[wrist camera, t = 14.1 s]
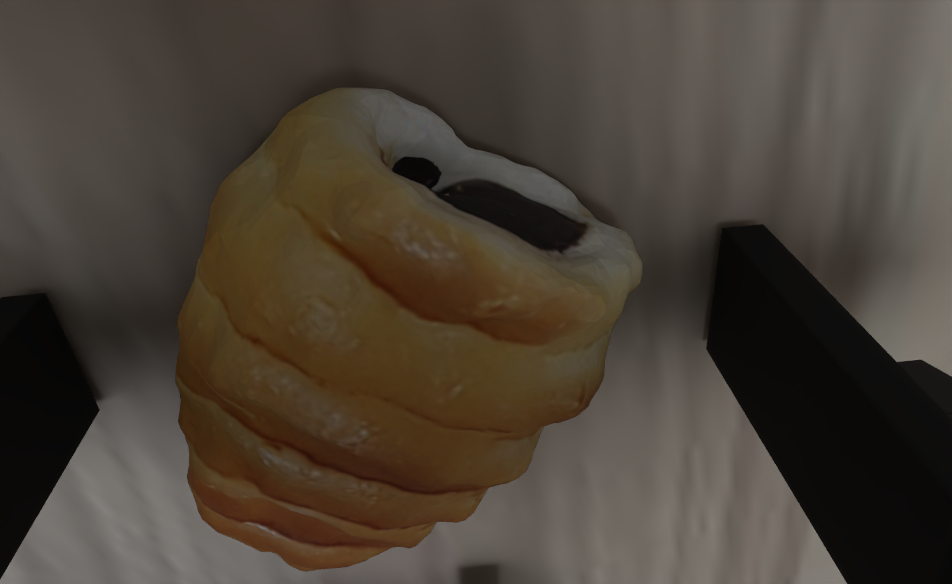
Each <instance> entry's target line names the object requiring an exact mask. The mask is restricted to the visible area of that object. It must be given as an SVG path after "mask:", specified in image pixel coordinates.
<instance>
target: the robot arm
mask: <svg viewBox="0 0 952 584" xmlns="http://www.w3.org/2000/svg"><path fill="white" fill-rule="evenodd" d="M706 349H707V351H708V353H709V354H710V356H711V358H712V359H713V361H714V363H715V364H716V366H717V368H718V369H719V371H720V373H721V374H722V376H723V378H724V379H725V381H726V383H727V384H728V386H729V388H730V389H731V391H732V393H733V394H734V396H735V398H736V399H737V401H738V403H739V404H740V406H741V408H742V409H743V411H744V413H745V414H746V416H747V418H748V419H749V421H750V423H751V424H752V426H753V428H754V429H755V431H756V433H757V434H758V436H759V438H760V439H761V441H762V443H763V444H764V446H765V448H766V449H767V451H768V452H769V454H770V456H771V457H772V459H773V461H774V462H775V464H776V466H777V467H778V469H779V471H780V472H781V474H782V476H783V477H784V479H785V481H786V482H787V484H788V486H789V487H790V489H791V491H792V492H793V494H794V496H795V497H796V499H797V501H798V502H799V504H800V506H801V507H802V509H803V511H804V512H805V514H806V516H807V517H808V519H809V521H810V522H811V524H812V526H813V527H814V529H815V531H816V532H817V534H818V536H819V537H820V539H821V541H822V542H823V544H824V546H825V547H826V549H827V551H828V552H829V554H830V556H831V557H832V559H833V561H834V562H835V564H836V566H837V567H838V569H839V571H840V572H841V574H842V576H843V577H844V579H845V581H846V582H847V584H952V377H951V376H949V375H948V374H946V373H944V372H942V371H940V370H939V369H937V368H935V367H933V366H932V365H930V364H928V363H926V362H924V361H923V360H913V361H904V362H896V361H895V360H894V359H893V358H892V357H891V356H890V355H889V354H888V353H887V352H886V351H885V350H884V349H883V348H882V346H881V345H880V344H879V343H878V342H877V341H876V340H875V339H874V338H873V337H872V336H871V335H870V334H869V333H868V332H867V331H866V330H865V329H864V328H863V327H862V326H861V325H860V324H859V323H858V322H857V321H856V320H855V319H854V318H853V317H852V316H851V315H850V314H849V312H848V311H847V310H846V309H845V308H844V307H843V306H842V305H841V304H840V303H839V302H838V301H837V300H836V299H835V298H834V297H833V296H832V295H831V294H830V293H829V292H828V291H827V290H826V289H825V288H824V287H823V286H822V285H821V284H820V283H819V282H818V281H817V279H816V278H815V277H814V276H813V275H812V274H811V273H810V272H809V271H808V270H807V269H806V268H805V267H804V266H803V265H802V264H801V263H800V262H799V261H798V260H797V259H796V258H795V257H794V256H793V255H792V254H791V253H790V252H789V251H788V250H787V249H786V248H785V247H784V245H783V244H782V243H781V242H780V241H779V240H778V239H777V238H776V237H775V236H774V235H773V234H772V233H771V232H770V231H769V230H768V229H767V228H766V227H765V226H764V225H763V224H762V225H752V226H741V227H731V228H722V233H721V240H720V248H719V256H718V263H717V271H716V279H715V286H714V294H713V302H712V309H711V317H710V325H709V332H708V340H707V348H706ZM98 412H99V407H98V405H97V403H96V401H95V399H94V397H93V395H92V392H91V390H90V388H89V386H88V384H87V382H86V380H85V377H84V375H83V373H82V371H81V369H80V367H79V365H78V362H77V360H76V358H75V356H74V354H73V352H72V350H71V347H70V345H69V343H68V341H67V339H66V337H65V335H64V332H63V330H62V328H61V326H60V324H59V322H58V320H57V317H56V315H55V313H54V311H53V309H52V307H51V305H50V302H49V300H48V298H47V296H46V294H45V293H42V294H32V295H21V296H11V297H2V298H1V299H0V579H1V577H2V575H3V574H4V572H5V570H6V569H7V567H8V565H9V563H10V562H11V560H12V558H13V557H14V555H15V553H16V552H17V550H18V548H19V546H20V545H21V543H22V541H23V540H24V538H25V536H26V534H27V533H28V531H29V529H30V528H31V526H32V524H33V523H34V521H35V519H36V517H37V516H38V514H39V512H40V511H41V509H42V507H43V505H44V504H45V502H46V500H47V499H48V497H49V495H50V494H51V492H52V490H53V488H54V487H55V485H56V483H57V482H58V480H59V478H60V476H61V475H62V473H63V471H64V470H65V468H66V466H67V465H68V463H69V461H70V459H71V458H72V456H73V454H74V453H75V451H76V449H77V447H78V446H79V444H80V442H81V441H82V439H83V437H84V436H85V434H86V432H87V430H88V429H89V427H90V425H91V424H92V422H93V420H94V419H95V417H96V415H97V413H98Z"/></svg>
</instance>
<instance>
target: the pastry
mask: <svg viewBox="0 0 952 584" xmlns="http://www.w3.org/2000/svg"><path fill="white" fill-rule="evenodd" d="M642 272H643V269H642V261H641V259H640V257H639V255H638V253H637V251H636V249H635V246H634V244H633V241H632V239H631V237H630V236H629V235H628V234H627V233H626V232H625V231H623V230H621V229H618V228H615V227H613V226H610V225H607V224H605V223H602V222H600V221H598V220H597V219H596V218H595V217H594V216H593V215H592V214H591V212H590V211H589V210H588V209H586V208H585V207H584V206H583V205H582V204H581V203H580V202H579V201H578V199H577V198H576V196H575V195H574V194H573V193H572V191H571V190H570V189H568V188H567V187H565V186H564V185H562V184H561V183H560V182H558V181H557V180H555V179H553V178H551V177H549V176H548V175H546V174H544V173H543V172H541V171H539V170H538V169H536V168H532V167H528V166H523V165H520V164H517V163H514V162H512V161H510V160H508V159H506V158H504V157H503V156H500V155H496V154H493V153H489V152H486V151H482V150H476V149H472V148H469V147H467V146H466V145H465V144H464V143H463V142H462V141H461V140H460V139H459V138H458V137H457V136H456V135H455V133H454V131H453V129H452V128H451V127H450V126H449V125H448V124H446V123H445V122H444V121H443V120H442V119H441V118H440V117H439V116H437V115H436V114H434V113H433V112H432V111H430V110H429V109H427V108H426V107H423V106H420V105H417V104H415V103H412V102H410V101H408V100H406V99H404V98H402V97H400V96H398V95H396V94H394V93H393V92H391V91H389V90H384V89H371V88H339V87H338V88H335V89H332V90H329V91H327V92H324V93H322V94H320V95H317V96H315V97H312V98H311V99H309V100H307V101H306V102H304V103H302V104H300V105H299V106H297V107H295V108H294V109H292V110H290V111H289V112H288V113H287V114H286V115H285V116H284V117H283V118H282V119H281V120H280V122H279V123H278V125H277V127H276V128H275V129H274V130H273V132H272V133H271V134H270V136H269V137H268V138H267V139H266V140H265V141H264V143H263V144H262V145H261V146H260V147H259V148H258V149H257V150H256V151H255V152H254V153H253V154H252V155H251V156H250V157H249V158H248V159H246V160H245V161H244V162H243V163H242V164H240V165H239V166H238V167H237V168H236V169H234V170H233V171H232V172H231V173H230V174H229V175H228V176H227V177H226V179H225V180H224V181H223V182H222V183H221V185H220V187H219V189H218V191H217V193H216V196H215V198H214V200H213V202H212V204H211V207H210V214H209V223H208V227H207V231H206V237H205V241H204V246H203V250H202V255H201V256H200V258H199V260H198V261H197V266H196V273H195V279H194V281H193V283H192V286H191V288H190V290H189V293H188V295H187V297H186V299H185V302H184V304H183V306H182V308H181V311H180V313H179V317H178V320H177V326H178V331H179V336H180V350H179V354H178V357H177V365H176V385H177V387H178V390H179V393H180V398H181V405H180V413H179V419H178V422H179V425H180V428H181V430H182V431H183V433H184V435H185V438H186V441H187V443H188V446H189V469H188V474H187V479H188V483H189V486H190V488H191V491H192V493H193V496H194V499H195V501H196V504H197V508H198V512H199V514H200V515H201V517H202V519H203V520H204V521H205V522H206V523H208V524H209V525H210V526H211V527H212V528H213V529H215V530H216V531H217V532H218V533H221V534H223V535H226V536H229V537H231V538H233V539H236V540H238V541H240V542H243V543H244V544H246V545H249V546H251V547H253V548H255V549H257V550H259V551H260V552H273V553H276V554H277V555H279V556H280V557H281V558H282V559H283V560H284V561H285V562H286V563H288V564H289V565H290V566H292V567H294V568H296V569H298V570H302V571H313V570H318V569H330V568H341V567H348V566H351V565H354V564H357V563H360V562H363V561H365V560H367V559H369V558H371V557H373V556H376V555H378V554H380V553H382V552H384V551H386V550H388V549H390V548H392V547H405V548H412V547H415V546H416V545H418V544H419V543H420V542H421V541H422V540H423V539H424V538H425V537H426V536H427V535H428V534H429V533H430V532H431V530H432V529H433V527H434V525H435V524H436V522H455V523H456V522H461V521H464V520H466V519H467V518H468V517H469V516H470V515H472V514H473V513H474V511H475V510H476V508H477V506H478V505H479V503H480V502H481V500H482V498H483V496H484V494H485V493H486V491H487V489H488V488H489V487H493V486H496V485H500V484H505V483H509V482H511V481H513V480H515V479H517V478H519V477H520V476H521V475H522V474H523V473H524V472H525V471H526V470H527V468H528V466H529V464H530V462H531V460H532V456H533V452H534V450H535V447H536V445H537V442H538V439H539V437H540V434H541V431H542V429H543V428H544V426H546V425H549V424H552V423H559V422H562V421H565V420H568V419H571V418H573V417H575V416H577V415H579V414H580V413H581V412H582V411H583V410H585V409H586V408H587V407H588V406H589V403H590V401H591V399H592V398H593V396H594V395H595V393H596V392H597V390H598V389H599V387H600V385H601V383H602V381H603V377H604V367H605V356H606V352H607V348H608V344H609V340H610V336H611V332H612V329H613V326H614V323H615V322H616V320H617V319H618V318H619V317H620V315H621V313H622V310H623V307H624V304H625V301H626V298H627V295H628V294H630V293H631V292H632V291H633V290H634V289H636V287H637V286H638V285H639V284H640V281H641V277H642Z"/></svg>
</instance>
